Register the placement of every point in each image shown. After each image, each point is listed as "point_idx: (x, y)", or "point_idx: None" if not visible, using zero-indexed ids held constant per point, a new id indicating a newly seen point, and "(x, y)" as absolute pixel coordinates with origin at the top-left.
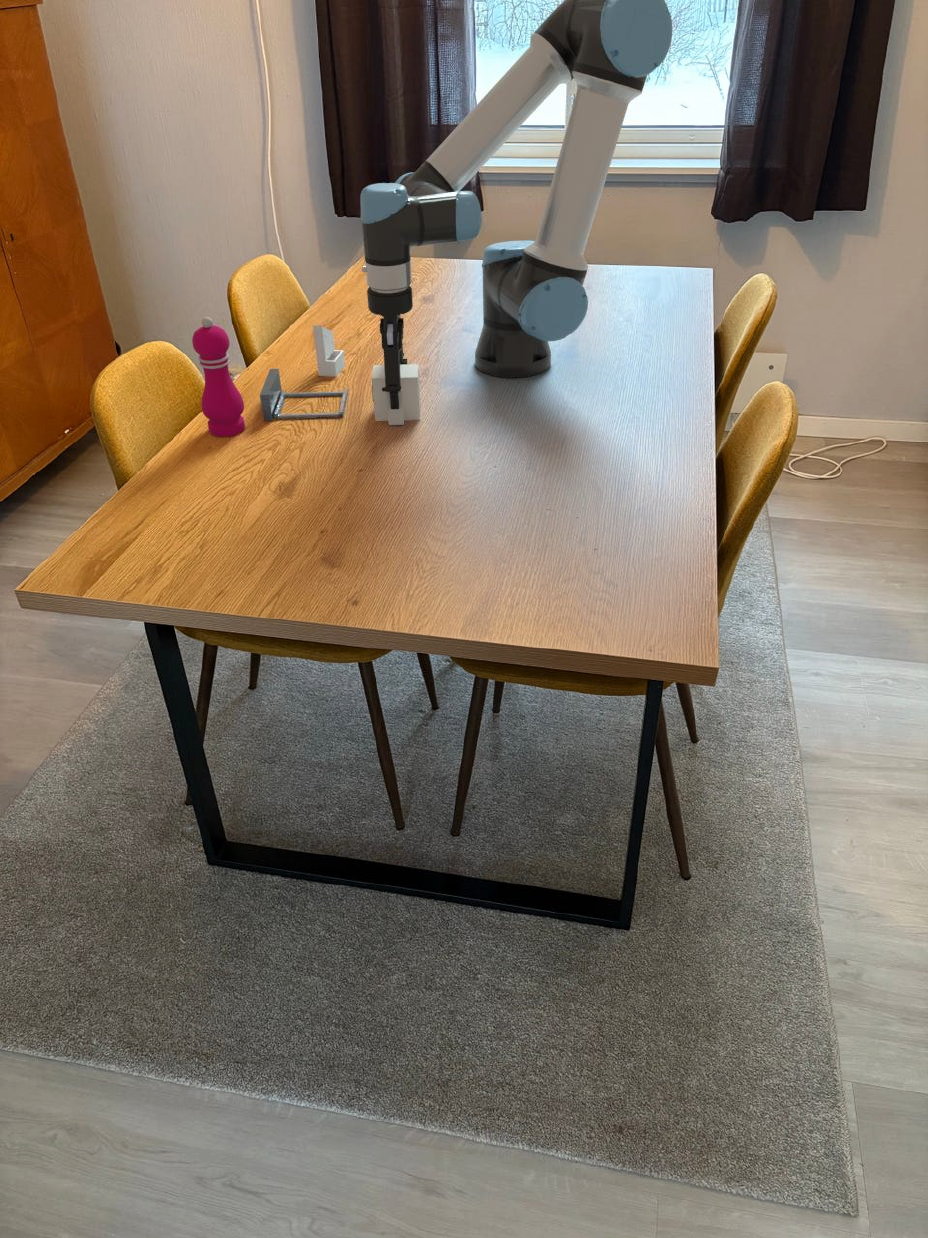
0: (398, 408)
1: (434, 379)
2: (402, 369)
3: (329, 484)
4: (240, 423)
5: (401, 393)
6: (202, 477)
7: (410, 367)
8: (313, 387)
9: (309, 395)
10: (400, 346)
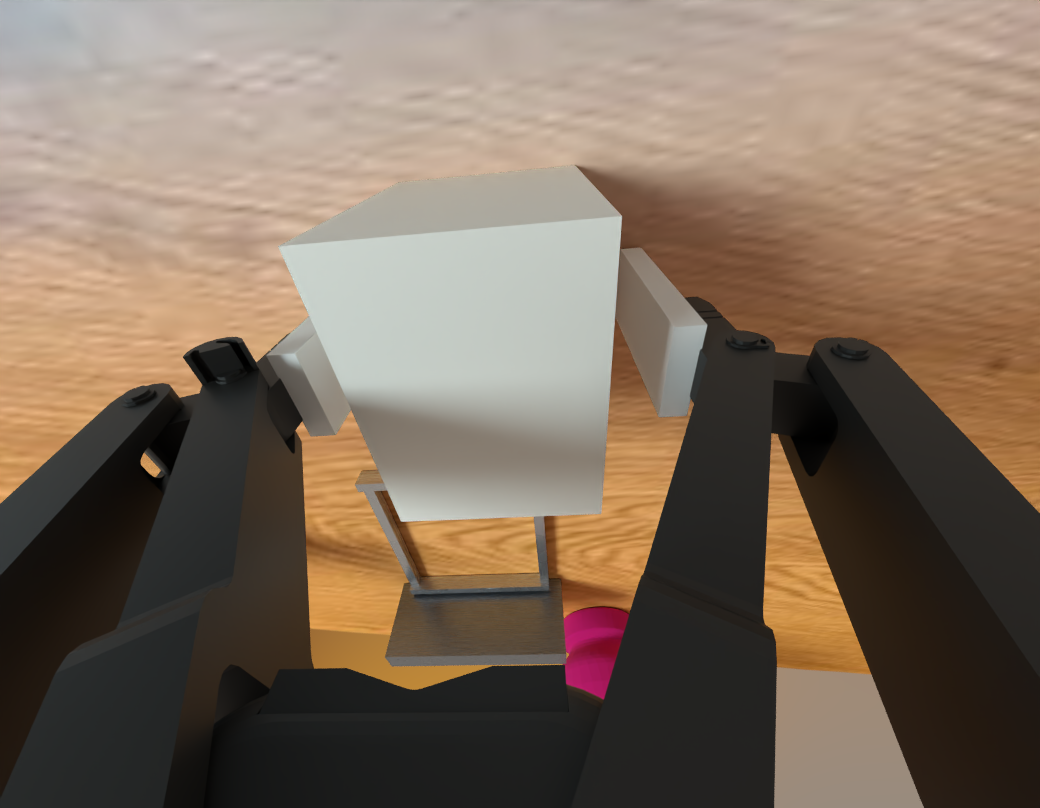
0: (701, 300)
1: (15, 132)
2: (441, 370)
3: (1027, 437)
4: (618, 629)
5: (695, 316)
6: (806, 622)
7: (383, 313)
8: (343, 542)
9: (404, 545)
10: (766, 665)
